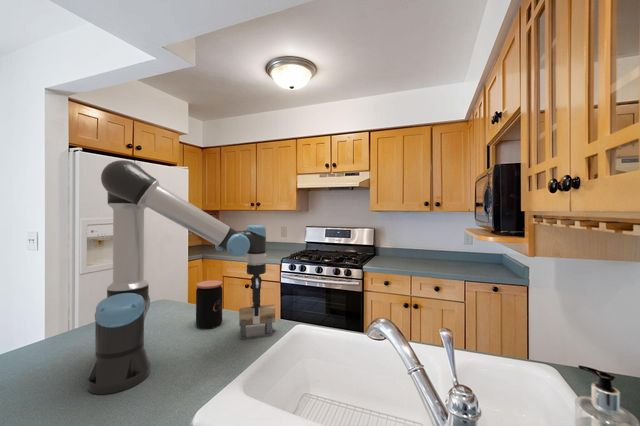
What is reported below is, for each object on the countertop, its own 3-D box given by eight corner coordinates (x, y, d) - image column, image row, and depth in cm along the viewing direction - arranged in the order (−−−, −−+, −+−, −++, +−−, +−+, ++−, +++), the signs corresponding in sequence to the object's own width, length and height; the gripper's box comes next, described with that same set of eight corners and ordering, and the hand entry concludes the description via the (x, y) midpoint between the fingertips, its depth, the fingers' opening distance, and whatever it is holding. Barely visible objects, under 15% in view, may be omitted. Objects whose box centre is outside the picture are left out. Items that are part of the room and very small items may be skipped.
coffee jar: (216, 330, 117) (217, 286, 117) (191, 329, 117) (191, 286, 117) (225, 320, 127) (226, 280, 127) (202, 319, 128) (202, 280, 127)
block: (275, 322, 114) (275, 307, 114) (239, 326, 110) (239, 311, 110) (274, 318, 118) (274, 304, 118) (239, 322, 114) (239, 307, 114)
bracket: (272, 336, 111) (272, 318, 111) (240, 339, 108) (240, 321, 108) (269, 327, 120) (269, 310, 120) (240, 330, 117) (240, 313, 117)
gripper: (267, 267, 107) (267, 328, 107) (263, 259, 123) (263, 313, 123) (247, 268, 105) (246, 330, 105) (246, 260, 121) (245, 314, 121)
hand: (255, 321), depth 114 cm, fingers closed on block, 4 cm apart
